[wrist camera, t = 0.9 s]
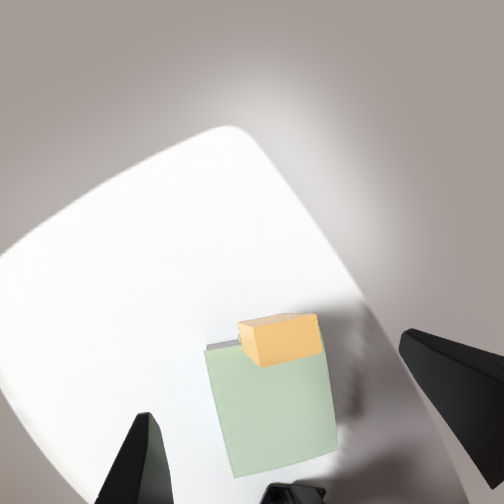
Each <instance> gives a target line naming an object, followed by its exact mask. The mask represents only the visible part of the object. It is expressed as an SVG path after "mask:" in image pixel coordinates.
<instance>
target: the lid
mask: <svg viewBox="0 0 504 504" xmlns="http://www.w3.org/2000/svg"><path fill="white" fill-rule="evenodd" d="M238 328H239V333H240V335H238V339H239V342H240V343H242V344H240V345H235V346H229V347H224V348H218V349H212V350H206V351H204V355H205V360H206V365H207V370H208V374H209V379H210V384H211V388H212V393H213V397H214V401H215V406H216V410H217V414H218V418H219V422H220V427H221V431H222V435H223V438H224V442H225V446H226V450H227V454H228V458H229V461H230V465H231V469H232V472H233V476H234V478H236V477H241V476H246V475H251V474H256V473H260V472H265V471H269V470H273V469H277V468H281V467H285V466H288V465H292V464H295V463H299V462H302V461H305V460H309V459H312V458H315V457H318V456H321V455H324V454H327V453H330V452H333V451H335V450H338V449H339V446H338V438H337V429H336V421H335V414H334V406H333V399H332V392H331V385H330V379H329V372H328V366H327V359H326V353H325V347H324V341H323V336H322V330H321V328H320V327H319V326H318V320H317V315H316V314H278V315H273V316H268V317H263V318H258V319H253V320H248V321H242V322H238Z"/></svg>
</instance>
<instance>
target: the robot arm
mask: <svg viewBox="0 0 504 504" xmlns="http://www.w3.org/2000/svg"><path fill="white" fill-rule="evenodd" d="M399 353H400V355H401V357H402V358H403V360H404V362H405V363H406V365H407V367H408V368H409V370H410V372H411V373H412V375H413V377H414V378H415V380H416V382H417V383H418V385H419V386H420V387H421V389H422V390H423V391H424V393H425V394H426V395H427V397H428V398H429V400H430V401H431V402H432V404H433V405H434V406H435V408H436V409H437V410H438V412H439V413H440V414H441V416H442V417H443V419H444V420H445V421H446V423H447V424H448V426H449V427H450V428H451V430H452V431H453V433H454V434H455V436H456V437H457V438H458V440H459V441H460V443H461V444H462V446H463V447H464V448H465V450H466V451H467V453H468V454H469V455H470V458H471V459H472V460H473V462H474V463H475V465H476V466H477V468H478V469H479V471H480V472H481V474H482V476H483V477H484V479H485V480H486V481H487V483H488V485H489V486H490V488H491V489H492V490H493V489H494V488H496V487H497V486H498V485H499V484H500V483H502V482H503V481H504V356H500V355H497V354H494V353H490V352H487V351H484V350H480V349H477V348H474V347H470V346H467V345H464V344H461V343H457V342H454V341H451V340H448V339H445V338H441V337H438V336H435V335H432V334H428V333H426V332H422V331H419V330H416V329H412V328H411V329H408V330H406V331H404V332H403V333H402V335H401V339H400V344H399ZM271 488H274V489H272V490H270V489H271ZM322 491H323V492H322ZM320 492H322V493H320ZM325 494H326V490H325V489H324V488H314V487H312V486H297V485H290V486H286V485H276V484H271V485H269V486H268V487H267V488H266V491H265V493H264V495H263V497H262V499H261V502H260V504H325V502H324V501H323V498H324V496H325ZM94 504H174V501H173V494H172V486H171V477H170V470H169V466H168V462H167V457H166V453H165V448H164V444H163V439H162V434H161V430H160V427H159V425H158V424H157V422H156V420H155V419H154V417H153V416H152V414H151V413H150V412H144V413H139V414H137V416H136V418H135V420H134V422H133V424H132V426H131V428H130V430H129V432H128V434H127V436H126V438H125V440H124V442H123V444H122V446H121V448H120V450H119V452H118V454H117V456H116V459H115V461H114V463H113V465H112V467H111V469H110V471H109V473H108V475H107V477H106V480H105V482H104V484H103V486H102V488H101V490H100V492H99V495H98V497H97V499H96V501H95V503H94Z"/></svg>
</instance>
